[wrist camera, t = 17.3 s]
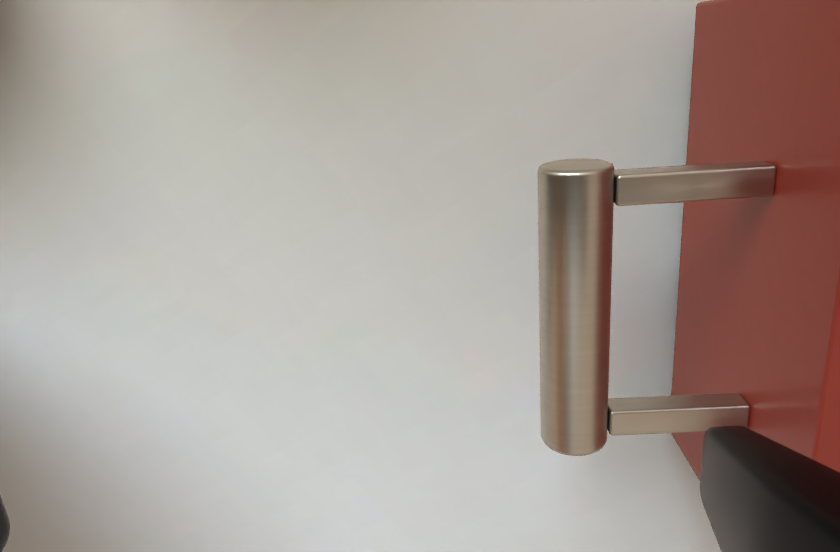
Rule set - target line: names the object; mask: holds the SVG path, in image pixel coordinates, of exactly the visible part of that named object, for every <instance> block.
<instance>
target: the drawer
mask: <svg viewBox="0 0 840 552" xmlns="http://www.w3.org/2000/svg"><path fill="white" fill-rule="evenodd" d="M676 202H684V208H683V223H682V239H681V254H680V270H679V286H678V301H677V317H676V332H675V348H674V364H673V379H672V395H671V396H656V397H635V398H615V399H608V382H609V346H610V309H611V273H612V236H613V203H615V204H616V205H618V206H628V205H644V204H660V203H676ZM538 235H539V318H540V401H541V437H542V439H543V441H544V443H545V444H546V445H547V446H548V447H549V448H551V449H552V450H554V451H556V452H558V453H562V454H566V455H572V456H583V455H589V454H592V453H595V452H597V451H599V450H600V449H601V448H602V447H603V446H604V445H605V443H606V441H607V429H608V431H609V434H610V435H634V434H656V433H671V434H672V436H673V437H674V439H675V441H676V442H677V444H678V446H679V447H680V449H681V451H682V452H683V454H684V456H685V457H686V459H687V461H688V462H689V464H690V466H691V467H692V469H693V471H694V472H695V474H696V476H697V477H698V479H699V481H700V474H701V462H702V449H703V439H704V435H705V432H706V431H707V430H708V429H709V428H710V427H718V426H734V425H740V426H744V427H746V428H749V429H751V430H753V431H755V432H757V433H759V434H761V435H763V436H765V437H767V438H769V439H771V440H773V441H776V442H778V443H780V444H782V445H784V446H786V447H788V448H790V449H792V450H794V451H796V452H798V453H800V454H803V455H805V456H807V457H809V458H811V459H813V460H815V461H817V462H819V463H821V464H823V465H825V466H828V467H830V468H832V469H834V470H836V471H838V472H840V0H711V1H705V2H700V3H698V4H697V7H696V20H695V36H694V52H693V67H692V83H691V98H690V114H689V130H688V145H687V161H686V165H683V166H667V167H652V168H637V169H622V170H614V166H613V164H612V163H610V162H607V161H604V160H598V159H565V160H557V161H551V162H548V163H545V164H543V165H541V166H539V169H538Z"/></svg>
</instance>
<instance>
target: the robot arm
mask: <svg viewBox="0 0 840 552" xmlns="http://www.w3.org/2000/svg"><path fill="white" fill-rule="evenodd" d="M700 493H701V498H702V502H703V505H704V508H705V510H706V513H707V515H708V518H709V521H710V523H711V526H712V528H713V531H714V533H715V536H716V538H717V541H718V544H719V546H720V549H721V551H722V552H840V472H838V471H836V470H834V469H832V468H830V467H828V466H825V465H823V464H821V463H819V462H817V461H815V460H813V459H811V458H809V457H807V456H805V455H803V454H800V453H798V452H796V451H794V450H792V449H790V448H788V447H786V446H784V445H782V444H780V443H778V442H776V441H773V440H771V439H769V438H767V437H765V436H763V435H761V434H759V433H757V432H755V431H753V430H751V429H749V428H746V427H744V426H740V425H734V426H718V427H710V428H709V429H708V430H707V431H706V432H705V435H704V439H703V449H702V462H701V474H700ZM9 530H10V524H9V519H8V516H7V513H6V510H5V507H4V504H3V501H2V499H1V496H0V552H2V550H3V549H4V547H5V545H6V542H7V540H8V536H9Z"/></svg>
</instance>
